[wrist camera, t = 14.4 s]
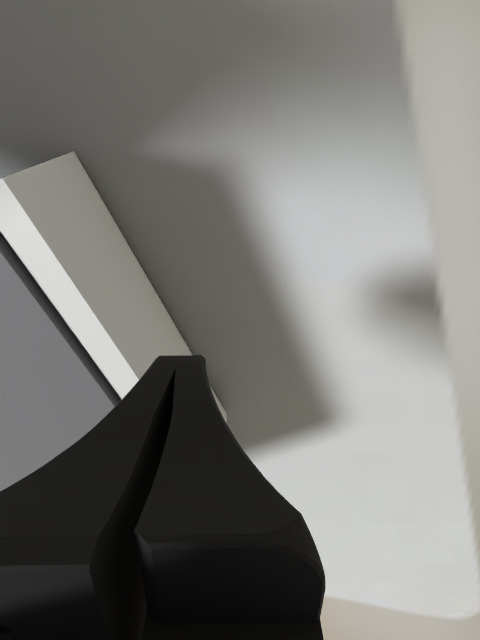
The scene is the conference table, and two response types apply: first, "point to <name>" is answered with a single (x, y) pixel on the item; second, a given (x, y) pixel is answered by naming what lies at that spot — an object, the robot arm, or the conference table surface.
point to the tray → (87, 269)
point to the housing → (41, 377)
